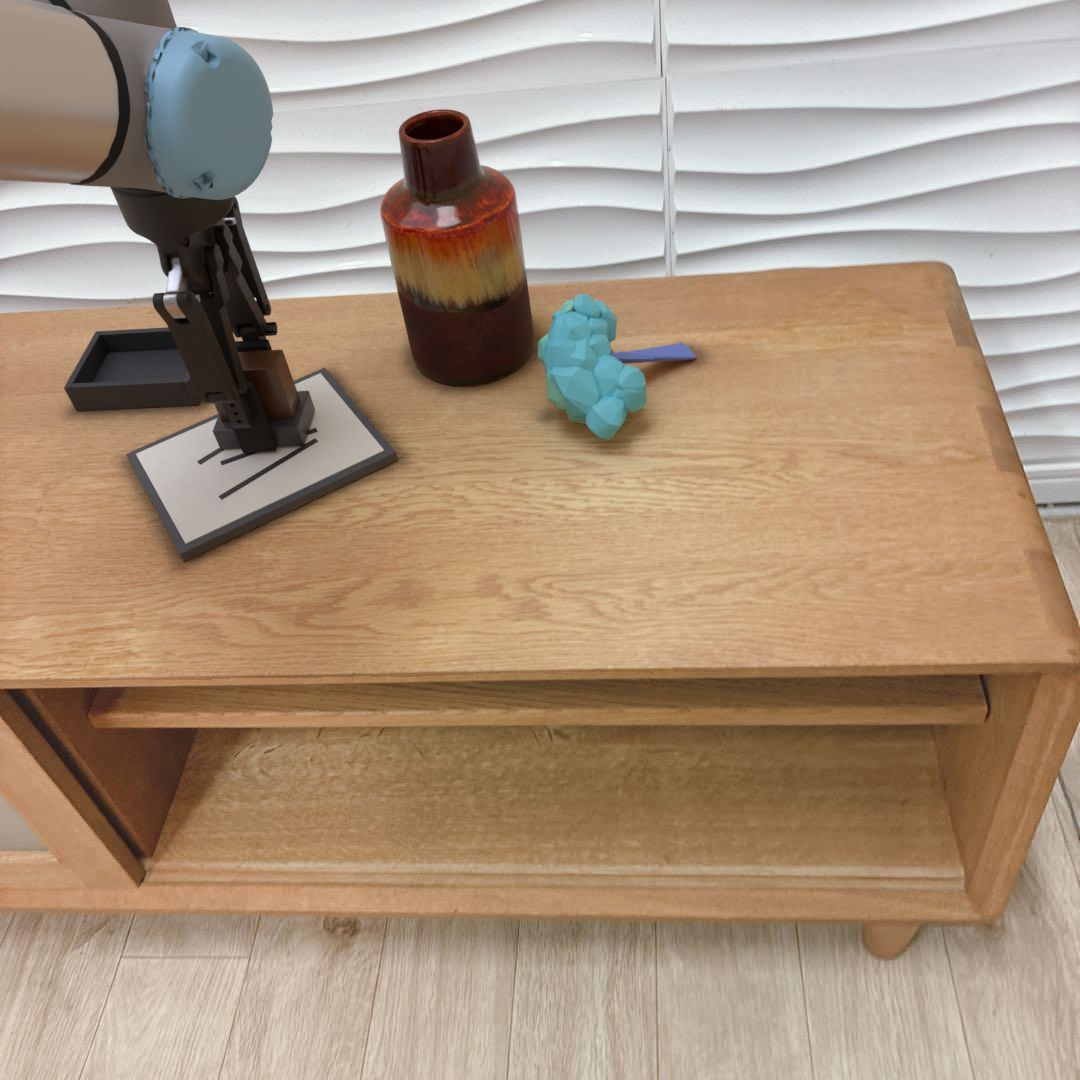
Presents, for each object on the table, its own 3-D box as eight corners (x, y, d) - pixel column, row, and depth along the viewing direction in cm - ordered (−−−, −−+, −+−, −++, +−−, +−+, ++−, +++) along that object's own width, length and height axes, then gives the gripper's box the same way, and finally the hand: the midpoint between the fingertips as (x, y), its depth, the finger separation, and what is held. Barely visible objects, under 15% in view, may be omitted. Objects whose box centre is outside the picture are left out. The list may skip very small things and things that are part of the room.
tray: (75, 411, 94) (63, 387, 92) (106, 354, 100) (95, 331, 98) (198, 405, 93) (188, 381, 91) (222, 348, 98) (213, 324, 97)
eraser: (220, 449, 87) (190, 381, 82) (234, 413, 90) (205, 345, 85) (304, 446, 86) (279, 377, 81) (315, 409, 89) (291, 340, 84)
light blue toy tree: (597, 367, 97) (483, 370, 86) (657, 293, 92) (544, 287, 81) (667, 458, 94) (558, 474, 82) (733, 387, 88) (627, 394, 77)
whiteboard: (183, 562, 80) (179, 552, 79) (129, 461, 89) (124, 452, 88) (398, 460, 85) (395, 450, 84) (327, 375, 94) (324, 365, 93)
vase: (530, 305, 98) (502, 84, 83) (538, 378, 91) (509, 149, 76) (413, 320, 98) (365, 102, 84) (412, 394, 91) (358, 168, 76)
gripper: (178, 227, 64) (289, 502, 81) (248, 94, 76) (332, 358, 93) (60, 236, 65) (194, 505, 82) (148, 103, 77) (249, 362, 94)
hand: (267, 426), depth 88 cm, fingers closed on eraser, 4 cm apart
